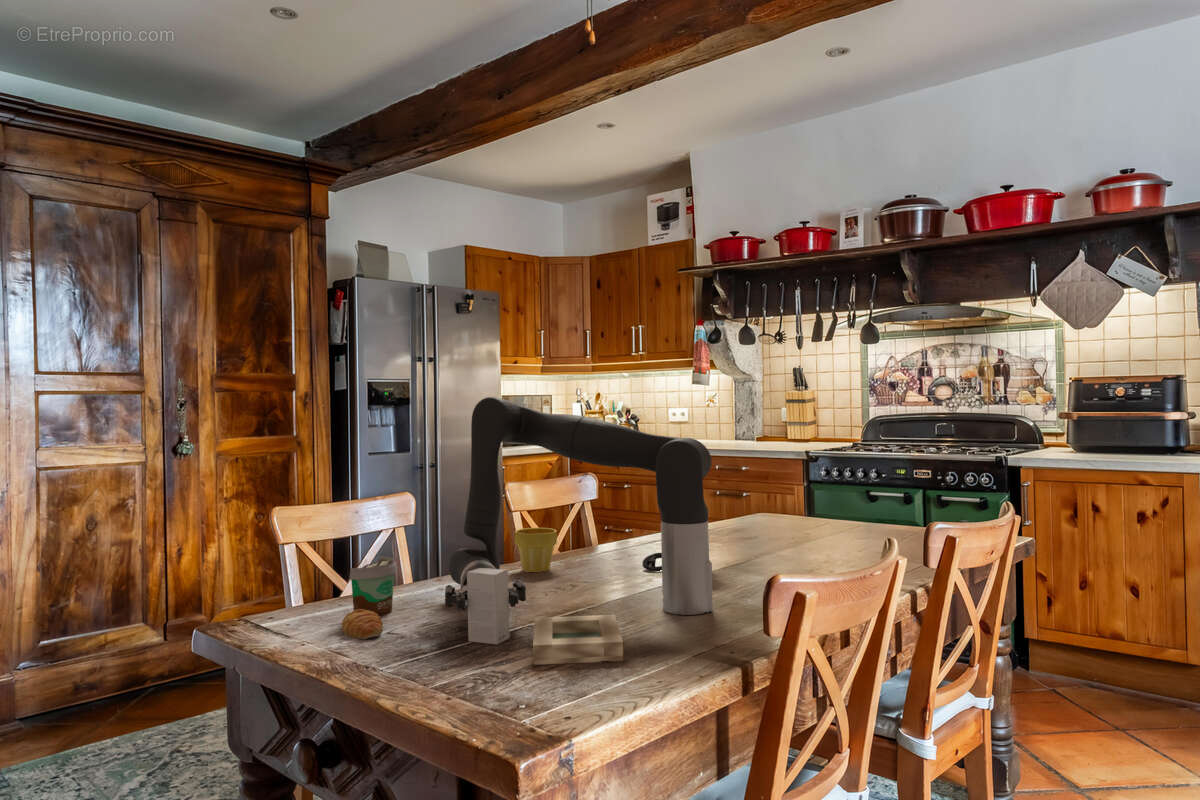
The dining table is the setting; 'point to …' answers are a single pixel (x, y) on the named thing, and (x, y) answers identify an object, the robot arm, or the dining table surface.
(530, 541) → the plant pot
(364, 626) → the pastry
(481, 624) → the skincare box
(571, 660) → the holder
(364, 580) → the food container
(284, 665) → the dining table surface
